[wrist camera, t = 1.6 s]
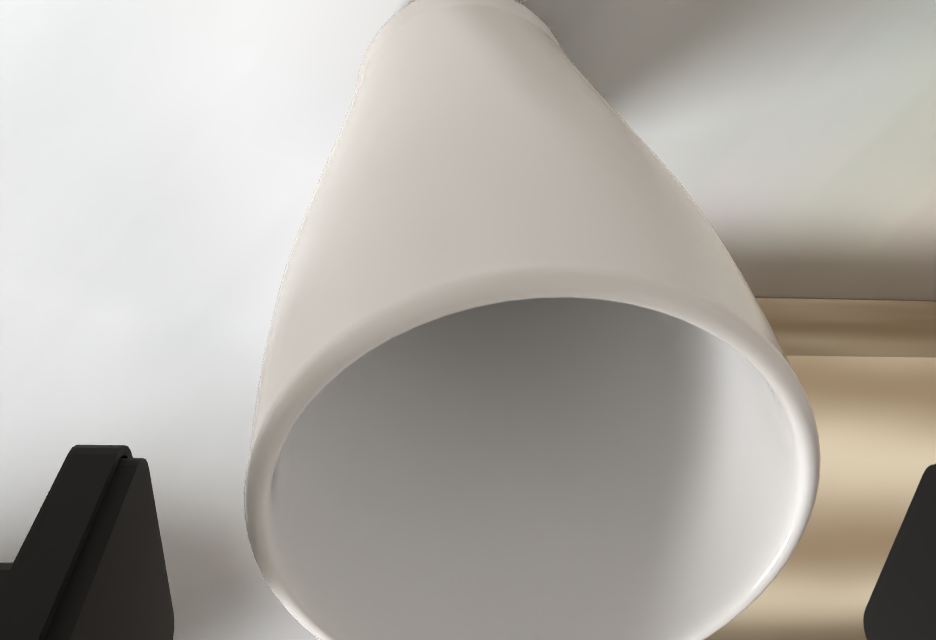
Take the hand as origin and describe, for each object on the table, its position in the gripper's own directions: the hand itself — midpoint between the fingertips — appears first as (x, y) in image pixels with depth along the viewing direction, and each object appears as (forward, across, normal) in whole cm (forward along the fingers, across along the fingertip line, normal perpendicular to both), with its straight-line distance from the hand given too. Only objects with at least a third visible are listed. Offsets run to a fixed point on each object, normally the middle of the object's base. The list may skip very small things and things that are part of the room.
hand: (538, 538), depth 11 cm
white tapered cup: (+15, 0, -1) cm, 15 cm away
